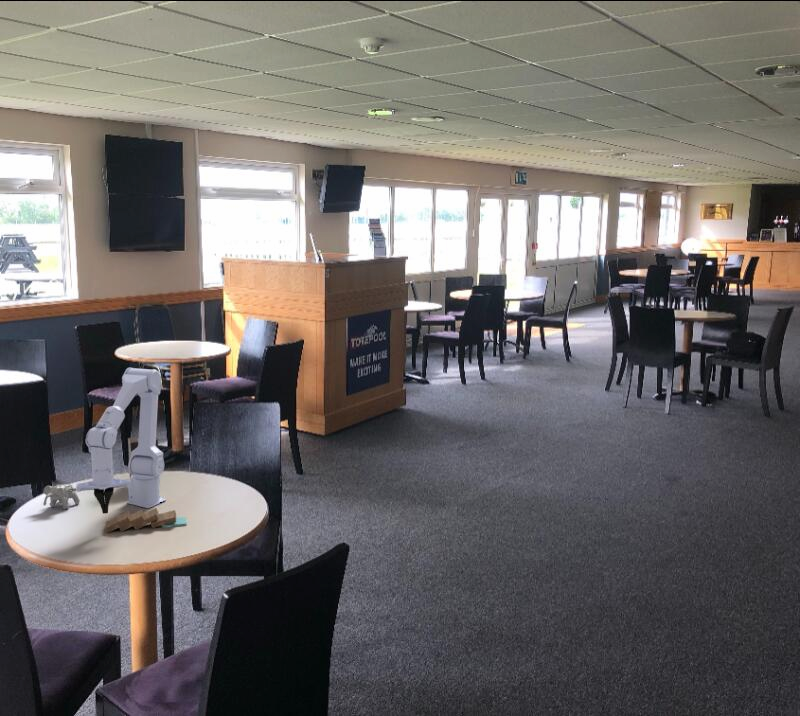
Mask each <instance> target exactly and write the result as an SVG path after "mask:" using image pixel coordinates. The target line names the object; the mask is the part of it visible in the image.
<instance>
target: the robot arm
mask: <svg viewBox="0 0 800 716" xmlns="http://www.w3.org/2000/svg"><path fill="white" fill-rule="evenodd" d="M121 380H122V381H121V383H122V386H121V388H120V389H119V392H118V395H117V396H116V398H115V400H114V403H113V405H112V406H108V407H107V408H105V411H104V412H103V414H102V416H101V417H100V419H98V421H97V423H96V425H95V426H94V427H92V428H90V429H89V430H88V431H87V433H86V435H85V444H86V446H87V447H88V452H89V453H90V456H91V457H90V459H91V471H92V480H91V481H84V482H77V483H76V487H75V488H76V489H77V490H76V493H79V492H80V493H81V492H84V491H93V496H94V497H95V498H96V500H97V502H98V503H99V507H100V508H101V512H102V514H109V505H110V502H111V499H112V497H113V493H114V490H115V489H117V488H126V489H127V490H128V500H127V501H126V504H130V505H133V506H137V507H142V508H145V509H151V508H152V507H155V506H157V505H160V504H161V503H160V502H162V503H164V502H166V501H167V499H166V498H164V497H161V493H160V492H161V491H160V484H159V482H160V477H161V476H162V474H163V472H164V469H165V461H164V452H163V451H162V450H160V449H159V447H158V448H157V447H156V446H155V444H156V438H157V423H158V422H157V421H158V408H159V407H158V406H159V404H158V403H159V396H160V394H161V388H162V387H161V386H162V375H161V374H160V372H159V371H158V370H157V369H155V368H153V369H147V368H135V367H127V368H126V369H125V371H124V373H123V374H122V377H121ZM136 394H137V395H138V396H139V398H140V406H139V421H138V422H139V427H138V437H139V441H138V447H137V448H136V449H134V450H133V451H132V452H131V457H130V460H129V459H128V465H127V466H128V467H127V468H128V472H129V471H130V472H129V474H130V473H131V474H133V475H132V476H131V477H130V476H129V478H128V479H127V478H126V479H125V478H123V479H122V478H120V479H119V478H115V474H114V473H115V472H114V461H113V460H114V459H113V456H114V455H113V447H114V445H115V444H116V443H117V435H118V433H119V432H118V430H119V428H120V426H121V424H122V423H123V421H124V419H125V417H126V415H125V410H126V409H127V407H128V406H129V405H130V403H131V402H132V401H133V399H134V398H135V396H136ZM142 455H144V456H142ZM165 500H166V501H165ZM163 501H164V502H163Z"/></svg>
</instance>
